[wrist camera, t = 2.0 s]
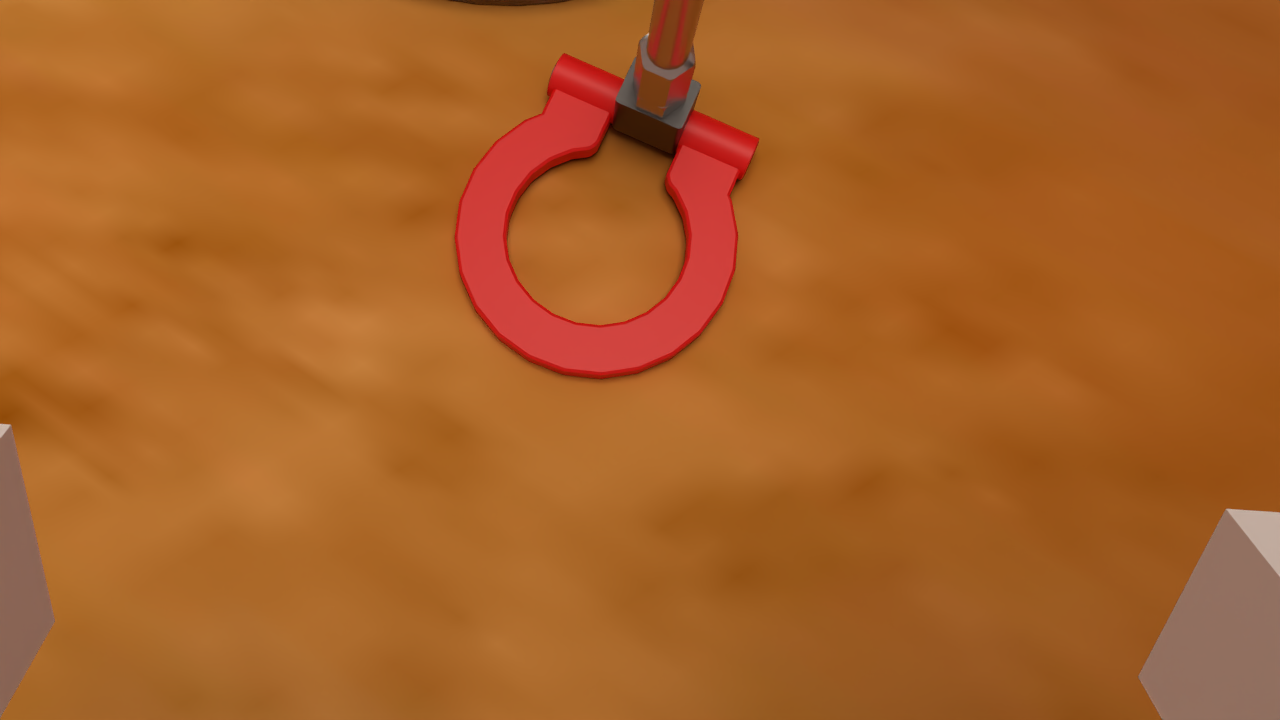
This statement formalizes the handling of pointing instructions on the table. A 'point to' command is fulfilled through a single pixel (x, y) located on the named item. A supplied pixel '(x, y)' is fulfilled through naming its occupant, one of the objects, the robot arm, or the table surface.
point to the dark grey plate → (510, 2)
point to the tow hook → (575, 128)
